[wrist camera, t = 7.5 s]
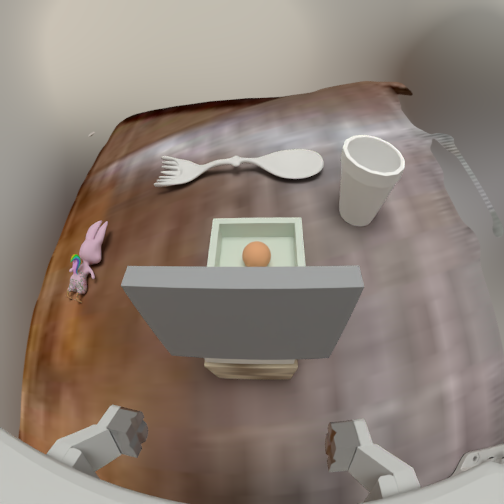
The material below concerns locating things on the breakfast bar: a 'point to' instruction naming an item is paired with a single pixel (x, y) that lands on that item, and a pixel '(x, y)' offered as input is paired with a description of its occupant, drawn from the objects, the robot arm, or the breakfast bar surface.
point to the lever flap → (246, 310)
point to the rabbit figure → (86, 259)
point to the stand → (252, 370)
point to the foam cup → (367, 177)
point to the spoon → (277, 163)
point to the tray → (256, 229)
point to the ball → (256, 254)
